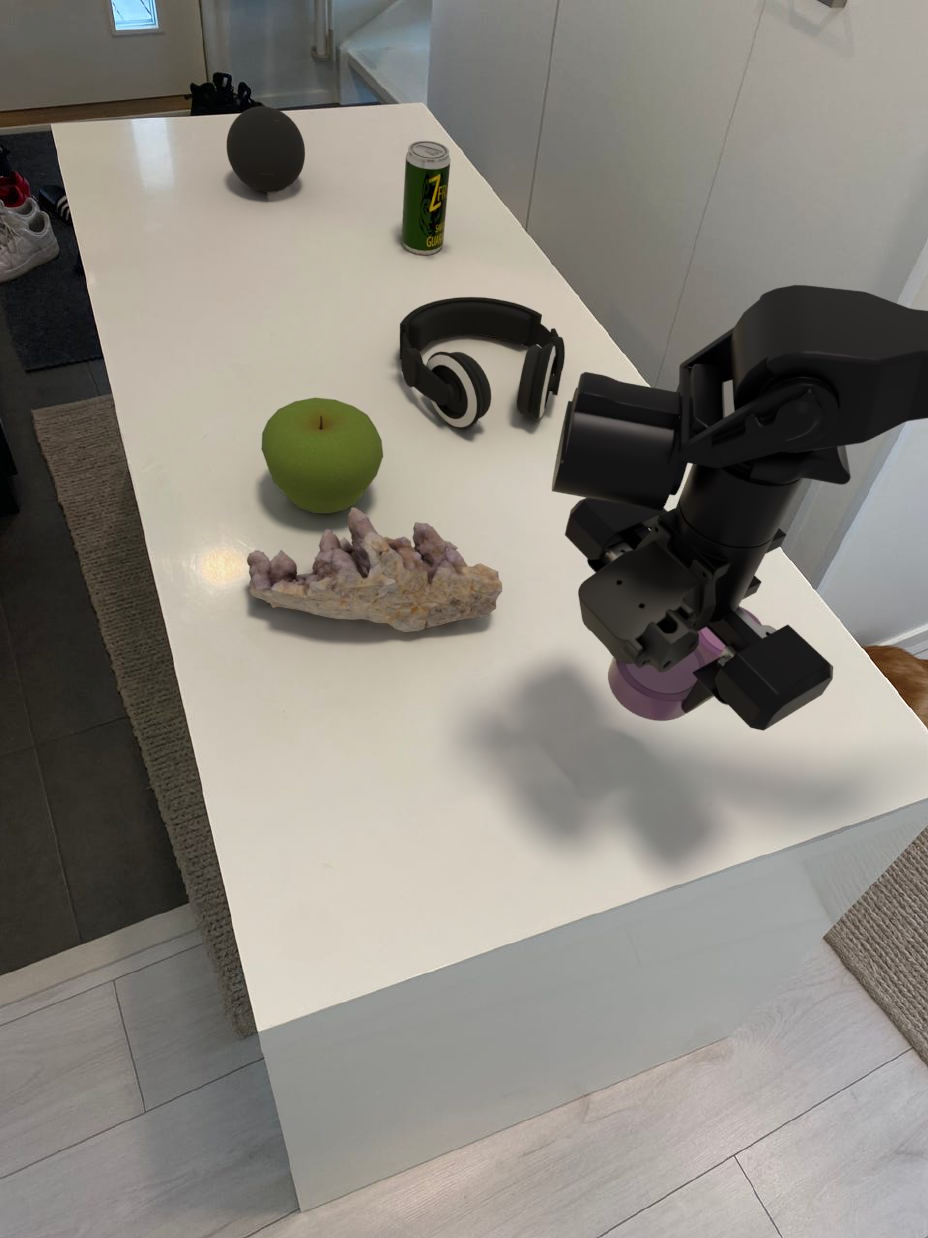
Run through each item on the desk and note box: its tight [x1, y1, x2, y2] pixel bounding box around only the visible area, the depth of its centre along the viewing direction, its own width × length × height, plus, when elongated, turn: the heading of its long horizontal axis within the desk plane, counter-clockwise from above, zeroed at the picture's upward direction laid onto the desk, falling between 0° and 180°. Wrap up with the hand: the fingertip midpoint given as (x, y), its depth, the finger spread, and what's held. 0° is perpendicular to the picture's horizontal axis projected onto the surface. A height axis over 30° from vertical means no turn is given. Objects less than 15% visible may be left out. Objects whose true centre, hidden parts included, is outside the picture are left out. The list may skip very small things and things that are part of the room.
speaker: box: [226, 106, 306, 193], centre depth 122 cm, size 10×10×10 cm
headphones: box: [399, 296, 566, 430], centre depth 100 cm, size 18×8×20 cm
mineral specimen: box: [246, 507, 503, 633], centre depth 78 cm, size 20×10×10 cm
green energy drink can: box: [401, 140, 451, 256], centre depth 116 cm, size 5×5×12 cm
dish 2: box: [697, 606, 763, 664], centre depth 81 cm, size 6×6×2 cm
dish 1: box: [607, 648, 706, 722], centre depth 65 cm, size 6×6×2 cm
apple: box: [261, 397, 384, 514], centre depth 85 cm, size 11×10×10 cm
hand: (656, 674), depth 65 cm, fingers closed on dish 1, 6 cm apart
